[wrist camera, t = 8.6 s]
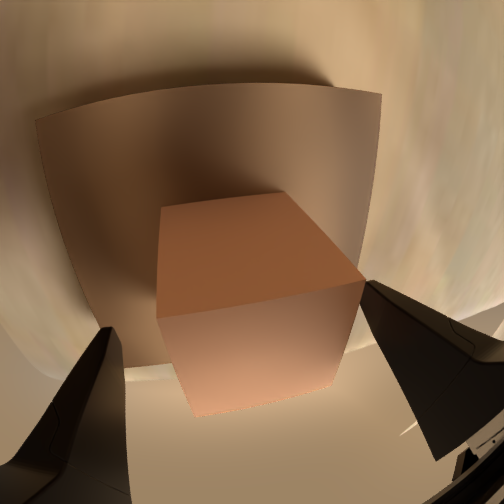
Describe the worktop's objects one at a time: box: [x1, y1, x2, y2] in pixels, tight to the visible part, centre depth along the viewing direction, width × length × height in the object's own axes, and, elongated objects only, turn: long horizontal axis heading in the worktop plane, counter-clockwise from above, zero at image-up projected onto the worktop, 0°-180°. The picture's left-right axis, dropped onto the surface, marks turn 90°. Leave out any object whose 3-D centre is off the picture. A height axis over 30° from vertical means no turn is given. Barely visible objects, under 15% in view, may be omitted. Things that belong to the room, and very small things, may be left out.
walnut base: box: [35, 83, 382, 368], centre depth 14 cm, size 14×14×4 cm
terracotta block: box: [156, 192, 366, 417], centre depth 10 cm, size 5×5×6 cm
